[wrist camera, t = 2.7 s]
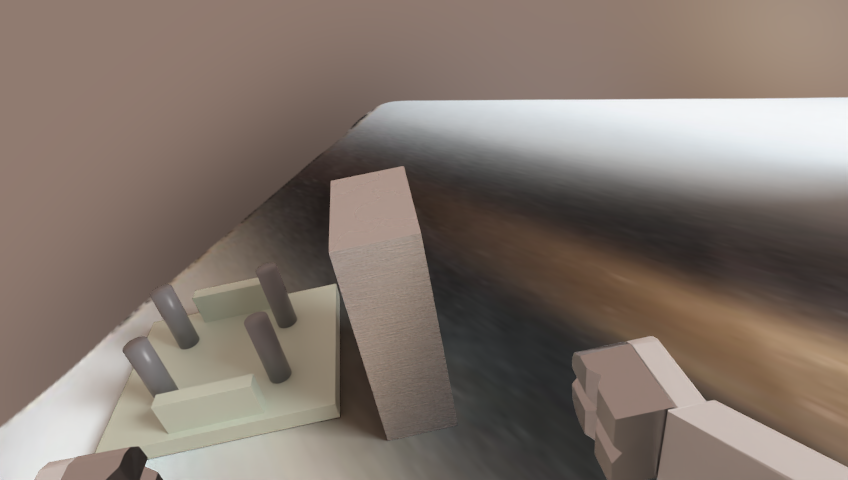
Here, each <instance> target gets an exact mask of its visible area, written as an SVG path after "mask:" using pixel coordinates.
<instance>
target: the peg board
mask: <svg viewBox="0 0 848 480" xmlns="http://www.w3.org/2000/svg"><path fill="white" fill-rule="evenodd" d="M256 274H257V278H253V279H248V280H243V281H238V282H234V283H229V284H224V285H219V286H215V287H210V288H205V289H200V290H196V291H195V293H194V296H193V298H192V299H193V300H194V302H195V304H196V306H197V308H198V310H199V312H200V313H195V314H191V315H187V313H186V312H185V310H184V308H183V306H182V304H181V302H180V300H179V299H178V297H177V295H176V293H175V291H174V289H173V287H172V286H171V285H169V284H166V285H161V286H159V287H157V288H155V289H154V290H153V291H152V292H151V294H150V296H151V298H152V300H153V302H154V303H155V305H156V307H157V309H158V310H159V312H160V314H161V316H162V317H163V319H164V320H162V321H158V322H154V323H153V326H152V328H151V330H150V332H149V334H148V337H137V338H135V339H133V340H131V341H129V342H128V343H127V344H126V345H125V346H124V348H123V353H124V354H125V356H126V357H127V359H128V360H129V362H130V363H131V365H132V366H133V370H132V372H131V374H130V376H129V379H128V381H127V383H126V385H125V387H124V390H123V392H122V394H121V396H120V398H119V401H118V403H117V405H116V407H115V409H114V412H113V414H112V416H111V418H110V420H109V423H108V425H107V427H106V429H105V432H104V434H103V436H102V438H101V440H100V443H99V445H98V447H97V449H96V451H95V453H100V452H106V451H111V450H116V449H122V448H127V447H136V446H139V447H140V448H141V449H142V451H143V452H144V453H145V455H146V456H147V457H148V458H147V459H151V458H156V457H160V456H165V455H169V454H174V453H178V452H183V451H187V450H192V449H196V448H201V447H206V446H210V445H215V444H219V443H224V442H228V441H233V440H237V439H242V438H246V437H251V436H255V435H260V434H265V433H269V432H274V431H278V430H283V429H287V428H292V427H296V426H301V425H305V424H310V423H315V422H319V421H324V420H328V419H333V418H337V417H340V295H339V292H338V288H337V285H336V284H332V285H328V286H323V287H318V288H313V289H309V290H304V291H299V292H295V293H290V294H288V293H287V291H286V288H285V286H284V283H283V280H282V278H281V275H280V273H279V270H278V268H277V265H276V264H275V263H266V264H263V265H261V266H260V267H258V268H257V270H256Z"/></svg>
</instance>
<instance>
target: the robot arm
mask: <svg viewBox="0 0 848 480" xmlns="http://www.w3.org/2000/svg"><path fill="white" fill-rule="evenodd" d="M572 368H573V370H574V372H575V374H576V376H577V379H576V380H575V381H574V382H573V384H572V397H573V402H574V407H575V411H576V414H577V417H578V419H579V422H580V424H581V426H582V429H583V431H584V433H585V434H586V435H588V436H590V437H591V438H593V439H594V440H595V456H596V458H597V460H598V462H599V464H600V466H601V468H602V470H603V472H604V474H605V476H606V478H607V480H647V479H652V478H657V480H848V467H846V466H844V465H842V464H840V463H838V462H836V461H834V460H832V459H830V458H828V457H826V456H824V455H822V454H820V453H818V452H816V451H814V450H812V449H810V448H808V447H806V446H804V445H802V444H800V443H798V442H796V441H794V440H792V439H791V438H789V437H787V436H785V435H783V434H781V433H779V432H777V431H775V430H773V429H771V428H769V427H767V426H765V425H763V424H761V423H759V422H757V421H755V420H753V419H751V418H749V417H747V416H745V415H743V414H741V413H739V412H737V411H735V410H733V409H731V408H729V407H727V406H725V405H723V404H721V403H719V402H717V401H716V400H712V401H706V400H705V399H704V398H703V397H702V395H701V394H700V393H699V391H698V390H697V389H696V388H695V386H694V385H693V384H692V382H691V381H690V380H689V379H688V377H687V376H686V375H685V373H684V372H683V371H682V370H681V368H680V367H679V366H678V364H677V363H676V362H675V361H674V359H673V358H672V357H671V356H670V354H669V353H668V352H667V350H666V349H665V348H664V347H663V345H662V344H661V343H660V341H659V340H658V339H657V338H655V337H653V336H649V337H645V338H640V339H635V340H631V341H626V342H621V343H616V344H612V345H607V346H603V347H598V348H594V349H589V350H585V351H580V352H576V353H574V355H573V358H572ZM147 458H148V457H147V456H146V455H145V453H144V452H143V451H142V449H141V448H140V447H139V446H136V447H127V448H122V449H116V450H111V451H106V452H100V453H95V454H89V455H84V456H78V457H75V458H70V459H65V460H59V461H54V462H49V463H48V464H47V465H45V466H44V467H43V468H42V469H41V470H40V471H39V472H38V474H37V476H36V478H35V480H163V479H162V478H161V476H160V475H159V473H158V472H156V471H154V470H151V469H149V468H147V467H145V464H146V461H147Z"/></svg>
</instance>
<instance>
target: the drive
mask: <svg viewBox="0 0 848 480" xmlns="http://www.w3.org/2000/svg"><path fill="white" fill-rule="evenodd" d="M329 255H330V258H331V261H332V264H333V268H334V271H335V274H336V277H337V280H338V284H339V287H340V290H341V293H342V296H343V300H344V303H345V306H346V309H347V312H348V315H349V319H350V322H351V325H352V328H353V331H354V335H355V338H356V341H357V344H358V347H359V350H360V354H361V357H362V360H363V363H364V366H365V370H366V373H367V376H368V379H369V382H370V385H371V389H372V392H373V395H374V398H375V401H376V405H377V408H378V411H379V414H380V417H381V421H382V424H383V427H384V430H385V433H386V436H387V440H388V441H390V440H395V439H399V438H404V437H408V436H413V435H417V434H422V433H426V432H431V431H435V430H440V429H444V428H449V427H453V426H458V423H457V418H456V413H455V408H454V403H453V397H452V392H451V387H450V382H449V377H448V371H447V366H446V361H445V356H444V351H443V345H442V340H441V335H440V330H439V324H438V319H437V314H436V309H435V304H434V298H433V293H432V288H431V283H430V278H429V272H428V267H427V262H426V257H425V252H424V246H423V241H422V236H421V231H420V227H419V224H418V220H417V216H416V212H415V208H414V204H413V200H412V196H411V192H410V189H409V185H408V181H407V177H406V173H405V169H404V166H401V167H396V168H391V169H386V170H382V171H377V172H372V173H367V174H362V175H357V176H352V177H348V178H343V179H338V180H333V181H331V192H330V225H329Z"/></svg>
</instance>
